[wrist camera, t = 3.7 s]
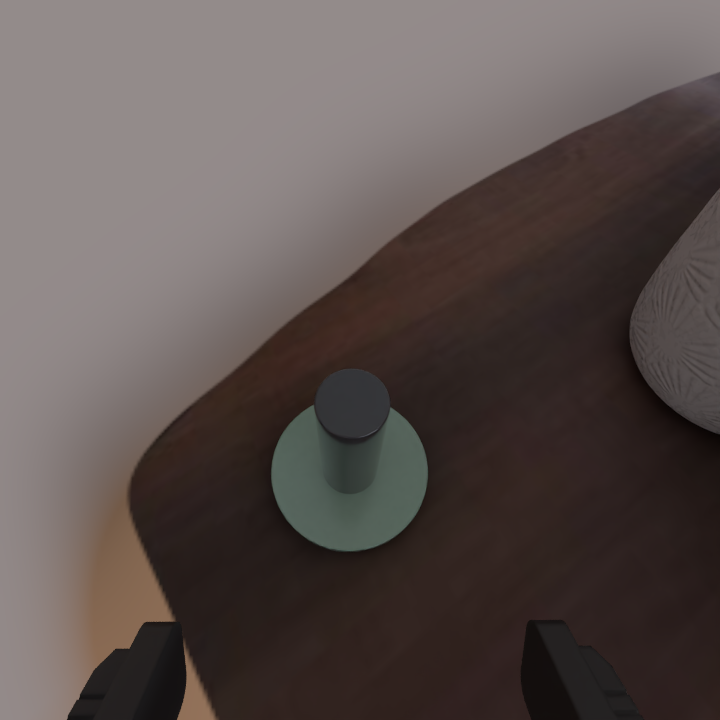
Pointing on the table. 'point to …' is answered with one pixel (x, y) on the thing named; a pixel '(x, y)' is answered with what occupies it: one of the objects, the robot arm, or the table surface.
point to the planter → (684, 323)
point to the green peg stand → (349, 466)
